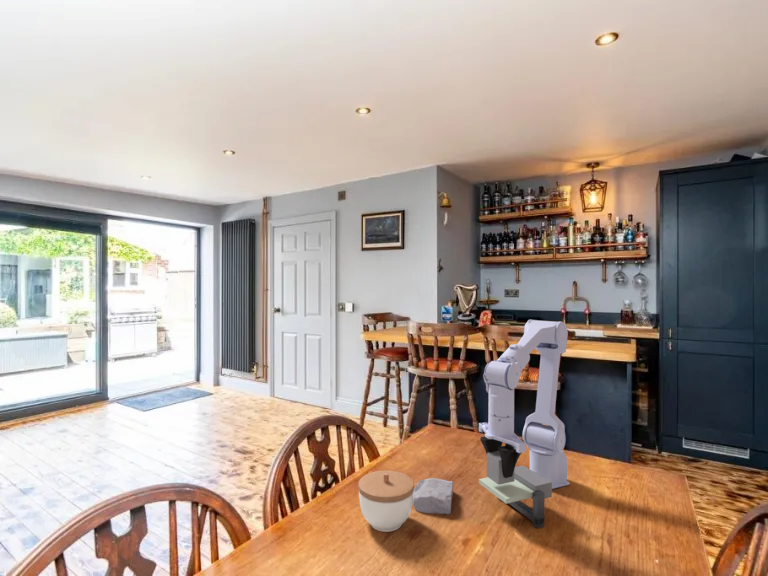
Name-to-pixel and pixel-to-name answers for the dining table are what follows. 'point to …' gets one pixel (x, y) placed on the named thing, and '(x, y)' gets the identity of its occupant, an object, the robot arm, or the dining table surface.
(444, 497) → the stone block
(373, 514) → the lidded bowl
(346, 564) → the dining table surface
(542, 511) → the frame
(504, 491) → the trapdoor
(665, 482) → the dining table surface
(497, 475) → the grey rectangular block
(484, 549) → the dining table surface
